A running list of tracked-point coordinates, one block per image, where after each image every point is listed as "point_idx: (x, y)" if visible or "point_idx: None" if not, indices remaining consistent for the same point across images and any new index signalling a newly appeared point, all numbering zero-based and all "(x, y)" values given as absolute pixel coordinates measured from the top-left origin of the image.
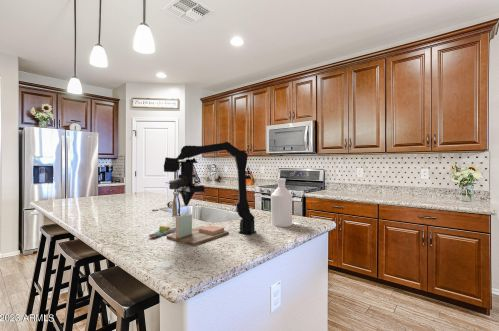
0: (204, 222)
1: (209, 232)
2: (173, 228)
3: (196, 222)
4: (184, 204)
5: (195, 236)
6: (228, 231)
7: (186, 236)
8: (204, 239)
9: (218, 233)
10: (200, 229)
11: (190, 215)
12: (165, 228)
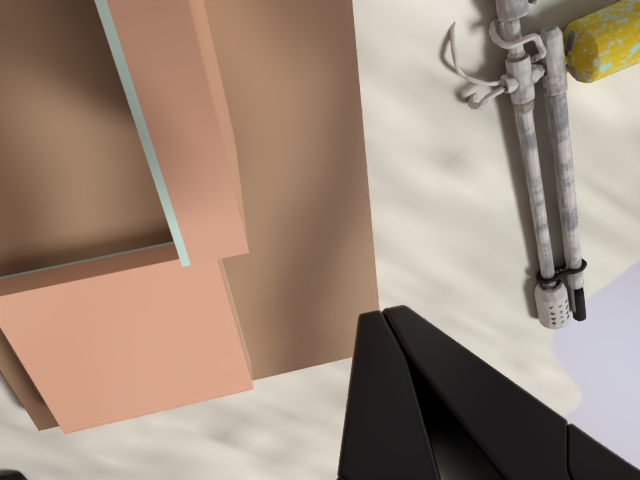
0: None
1: (40, 279)
2: (557, 115)
3: (569, 382)
4: (414, 315)
5: (52, 112)
6: (38, 428)
7: None
8: None
9: None
10: None
11: (174, 229)
12: (609, 21)
